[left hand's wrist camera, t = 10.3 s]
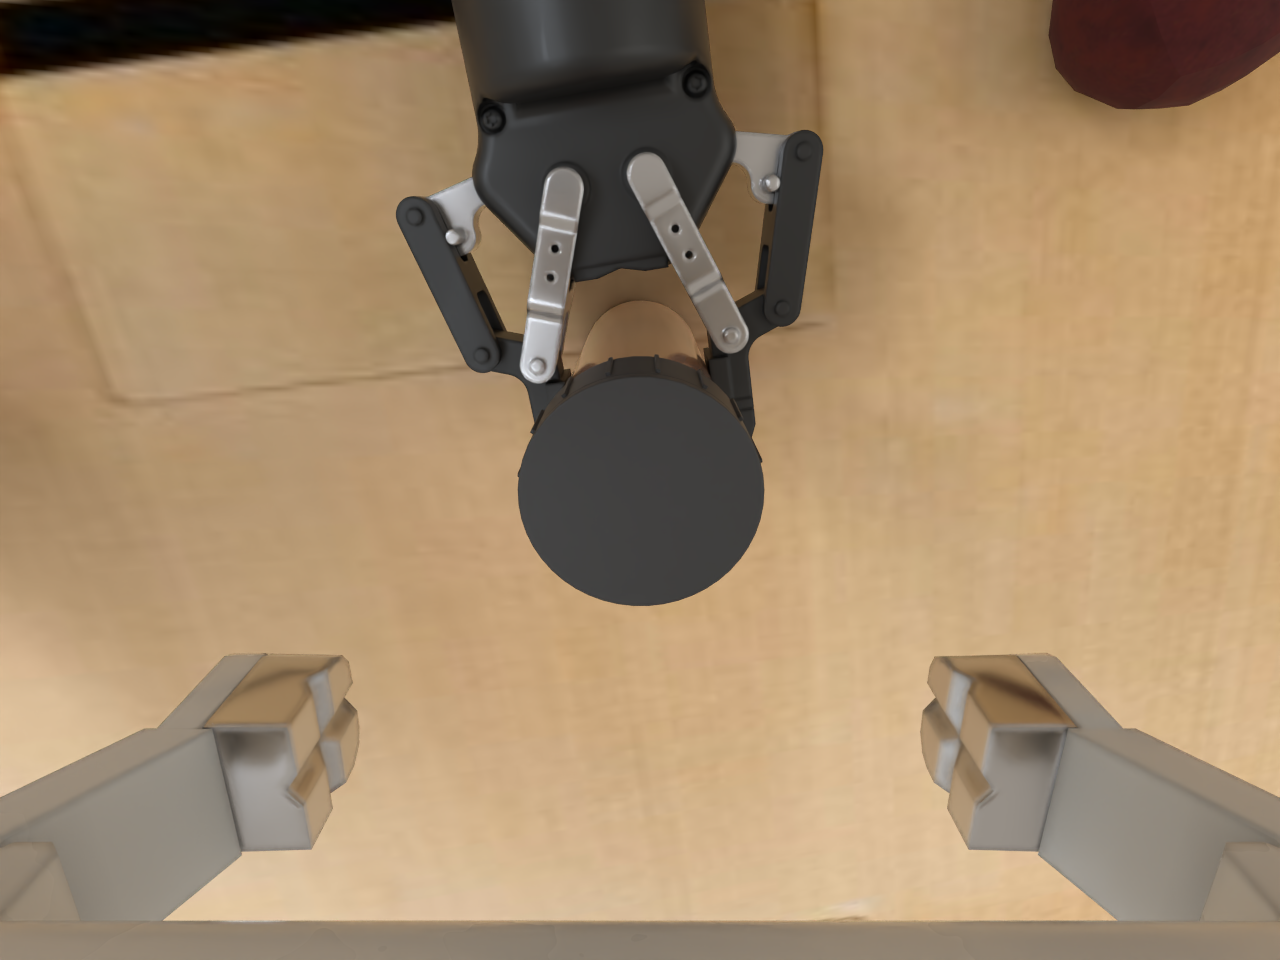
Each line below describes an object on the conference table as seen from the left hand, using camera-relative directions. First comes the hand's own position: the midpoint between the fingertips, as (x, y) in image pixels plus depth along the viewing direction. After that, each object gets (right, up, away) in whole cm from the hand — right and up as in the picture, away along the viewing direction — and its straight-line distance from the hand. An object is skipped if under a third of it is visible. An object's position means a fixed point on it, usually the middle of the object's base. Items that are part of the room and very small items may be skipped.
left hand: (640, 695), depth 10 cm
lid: (0, +3, +7) cm, 8 cm away
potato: (+18, +21, +18) cm, 33 cm away
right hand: (0, +4, +17) cm, 18 cm away
